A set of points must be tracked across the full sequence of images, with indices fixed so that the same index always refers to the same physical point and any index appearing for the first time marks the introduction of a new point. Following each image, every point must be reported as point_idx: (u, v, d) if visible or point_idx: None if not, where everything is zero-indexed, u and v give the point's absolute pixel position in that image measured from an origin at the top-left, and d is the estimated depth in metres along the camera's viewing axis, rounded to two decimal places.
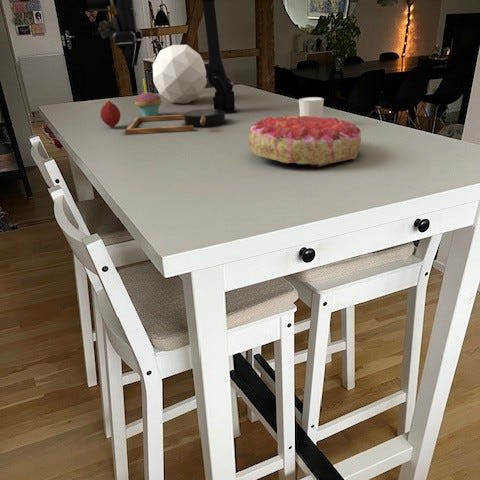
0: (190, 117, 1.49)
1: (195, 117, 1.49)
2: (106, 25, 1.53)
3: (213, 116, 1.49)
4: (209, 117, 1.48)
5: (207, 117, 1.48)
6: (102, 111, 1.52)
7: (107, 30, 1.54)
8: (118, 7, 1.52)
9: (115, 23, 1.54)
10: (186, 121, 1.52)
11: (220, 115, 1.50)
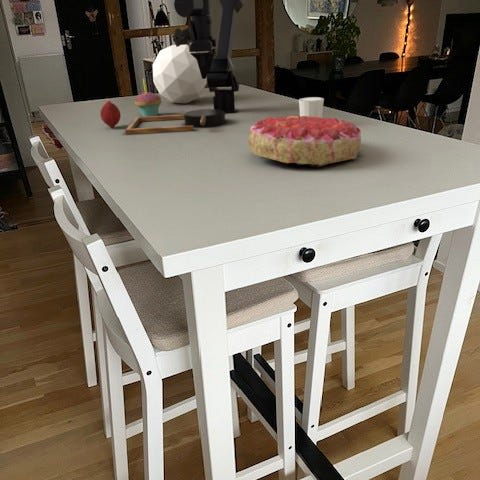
0: (190, 117, 1.49)
1: (195, 117, 1.49)
2: (181, 33, 1.43)
3: (213, 116, 1.49)
4: (209, 117, 1.48)
5: (207, 117, 1.48)
6: (102, 111, 1.52)
7: (182, 38, 1.44)
8: (206, 13, 1.43)
9: (190, 30, 1.44)
10: (186, 121, 1.52)
11: (220, 115, 1.50)
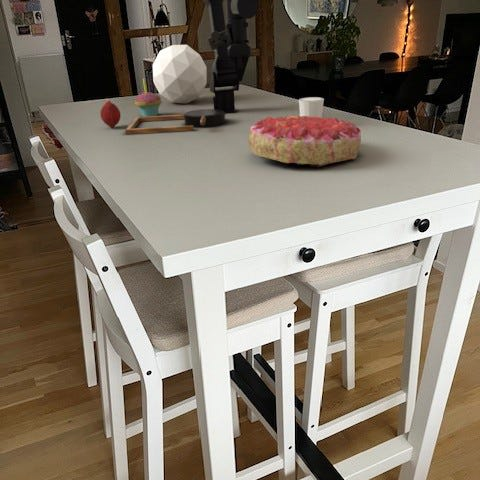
0: (190, 117, 1.49)
1: (195, 117, 1.49)
2: (218, 36, 1.39)
3: (213, 116, 1.49)
4: (209, 117, 1.48)
5: (207, 117, 1.48)
6: (102, 111, 1.52)
7: (219, 41, 1.40)
8: None
9: (227, 34, 1.40)
10: (186, 121, 1.52)
11: (220, 115, 1.50)
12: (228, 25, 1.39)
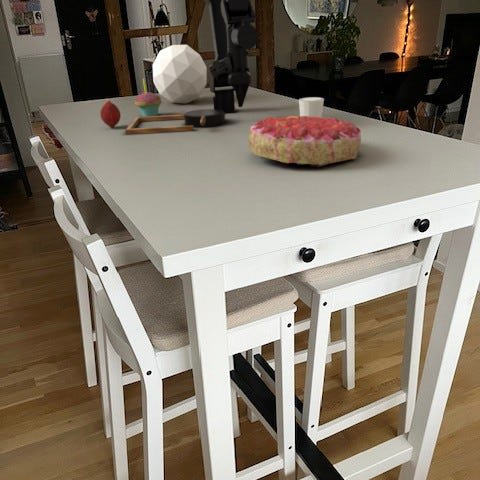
0: (190, 117, 1.49)
1: (195, 117, 1.49)
2: (219, 64, 1.43)
3: (213, 116, 1.49)
4: (209, 117, 1.48)
5: (207, 117, 1.48)
6: (102, 111, 1.52)
7: (220, 70, 1.43)
8: None
9: (228, 62, 1.44)
10: (186, 121, 1.52)
11: (220, 115, 1.50)
12: (229, 54, 1.43)
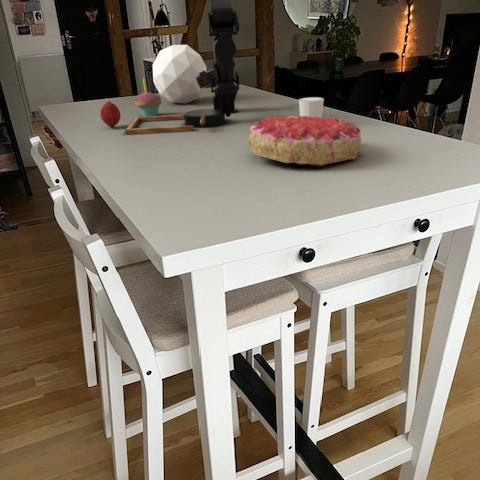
0: (190, 117, 1.49)
1: (195, 117, 1.49)
2: (206, 75, 1.44)
3: (213, 116, 1.49)
4: (209, 117, 1.48)
5: (207, 117, 1.48)
6: (102, 111, 1.52)
7: (207, 81, 1.45)
8: None
9: (215, 73, 1.45)
10: (186, 121, 1.52)
11: (220, 115, 1.50)
12: (215, 65, 1.44)
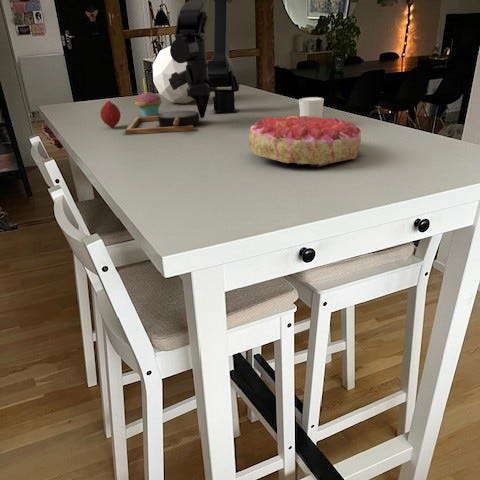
0: (164, 119, 1.49)
1: (168, 118, 1.48)
2: (178, 77, 1.44)
3: (187, 118, 1.49)
4: (183, 119, 1.48)
5: (181, 119, 1.48)
6: (102, 111, 1.52)
7: (179, 82, 1.45)
8: (202, 57, 1.44)
9: (187, 74, 1.45)
10: (160, 123, 1.52)
11: (194, 116, 1.50)
12: (188, 66, 1.44)
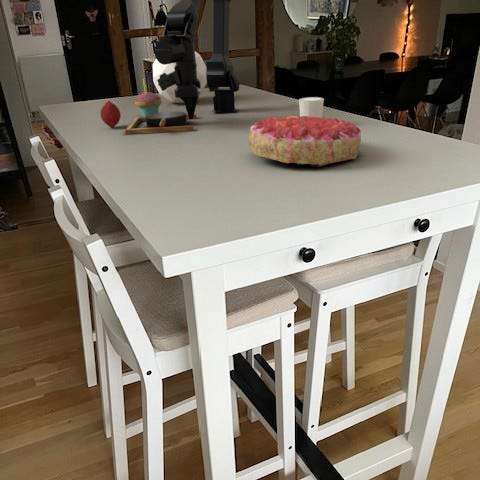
0: (151, 119, 1.49)
1: (155, 119, 1.48)
2: (167, 78, 1.44)
3: (174, 118, 1.49)
4: (170, 119, 1.48)
5: (168, 119, 1.48)
6: (102, 111, 1.52)
7: (167, 83, 1.45)
8: (190, 58, 1.44)
9: (176, 75, 1.45)
10: (147, 123, 1.52)
11: (181, 117, 1.50)
12: (176, 67, 1.45)
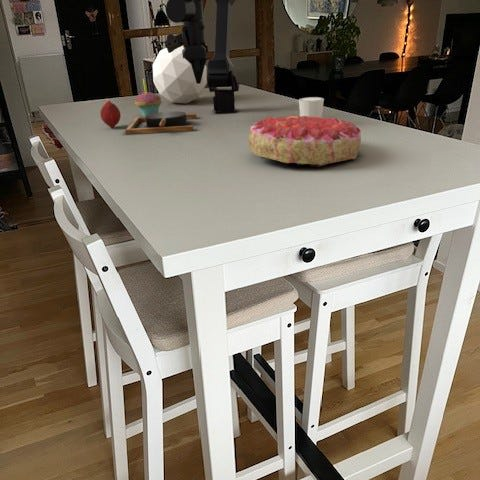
0: (151, 119, 1.49)
1: (155, 119, 1.48)
2: (174, 38, 1.39)
3: (174, 118, 1.49)
4: (170, 119, 1.48)
5: (168, 119, 1.48)
6: (102, 111, 1.52)
7: (175, 44, 1.40)
8: (199, 18, 1.39)
9: (183, 36, 1.40)
10: (147, 123, 1.52)
11: (181, 117, 1.50)
12: (184, 28, 1.40)
